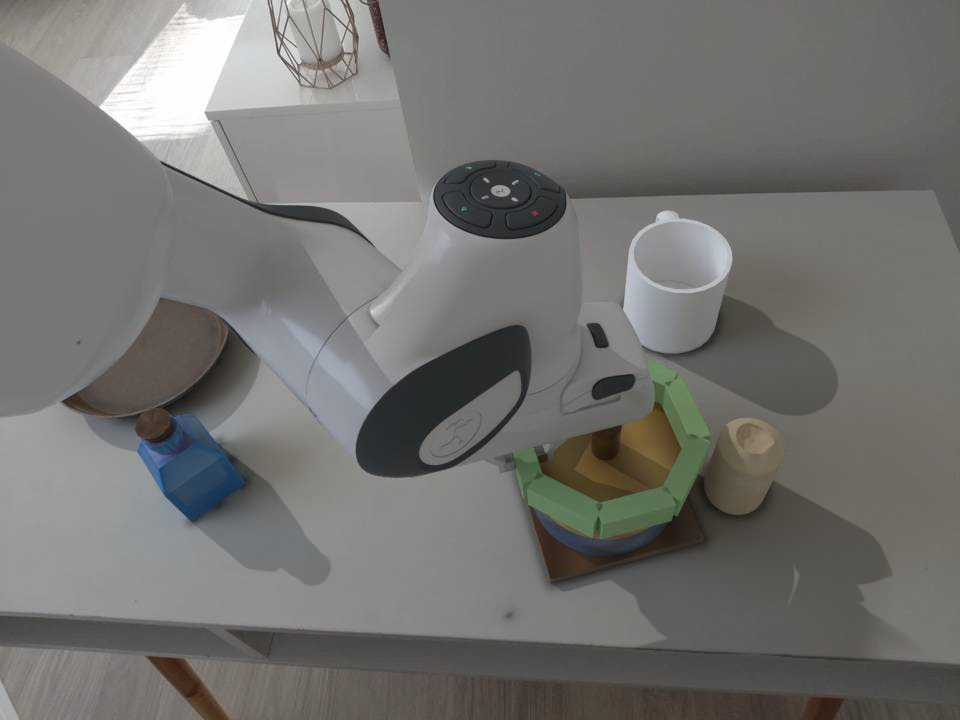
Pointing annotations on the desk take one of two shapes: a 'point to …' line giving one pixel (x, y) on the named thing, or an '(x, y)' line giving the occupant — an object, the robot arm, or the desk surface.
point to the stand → (613, 496)
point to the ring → (634, 507)
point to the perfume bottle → (185, 461)
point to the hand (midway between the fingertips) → (524, 459)
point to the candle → (743, 465)
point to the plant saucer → (156, 363)
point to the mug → (676, 283)
